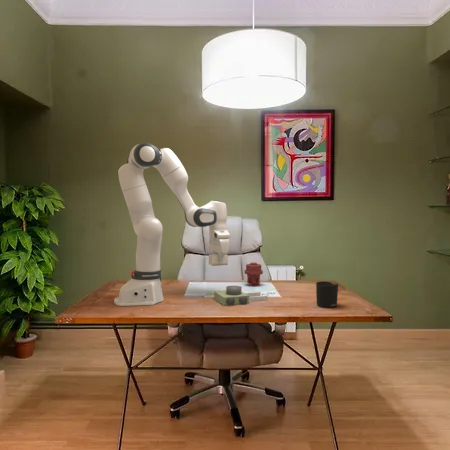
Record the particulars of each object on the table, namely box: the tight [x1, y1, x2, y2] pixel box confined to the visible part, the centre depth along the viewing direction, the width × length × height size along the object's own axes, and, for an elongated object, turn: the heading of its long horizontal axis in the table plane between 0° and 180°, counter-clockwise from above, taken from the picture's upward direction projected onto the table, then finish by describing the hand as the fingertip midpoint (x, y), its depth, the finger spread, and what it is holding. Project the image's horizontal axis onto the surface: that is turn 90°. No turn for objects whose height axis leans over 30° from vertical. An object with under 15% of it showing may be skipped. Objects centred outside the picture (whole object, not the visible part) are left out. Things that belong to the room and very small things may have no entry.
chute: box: [208, 253, 229, 267], centre depth 201 cm, size 8×6×5 cm
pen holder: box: [315, 281, 339, 309], centre depth 180 cm, size 9×9×10 cm
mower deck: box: [213, 285, 269, 306], centre depth 190 cm, size 22×15×6 cm
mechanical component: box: [244, 261, 264, 287], centre depth 224 cm, size 12×10×10 cm
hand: (218, 261), depth 201 cm, fingers closed on chute, 5 cm apart
